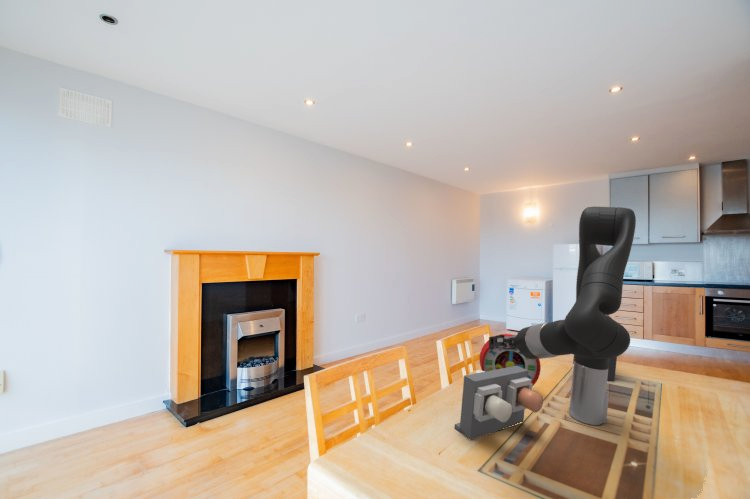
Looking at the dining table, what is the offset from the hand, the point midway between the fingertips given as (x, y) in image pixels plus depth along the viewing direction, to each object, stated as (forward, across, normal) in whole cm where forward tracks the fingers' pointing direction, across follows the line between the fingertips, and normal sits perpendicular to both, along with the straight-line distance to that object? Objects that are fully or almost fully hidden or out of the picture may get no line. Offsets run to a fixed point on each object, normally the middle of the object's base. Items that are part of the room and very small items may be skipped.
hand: (505, 347), depth 94 cm
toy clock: (+36, -20, +9) cm, 42 cm away
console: (+14, -4, +21) cm, 25 cm away
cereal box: (+52, -69, -4) cm, 86 cm away
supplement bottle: (+28, -6, +14) cm, 32 cm away
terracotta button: (+8, -11, +14) cm, 20 cm away
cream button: (+3, +1, +18) cm, 18 cm away
